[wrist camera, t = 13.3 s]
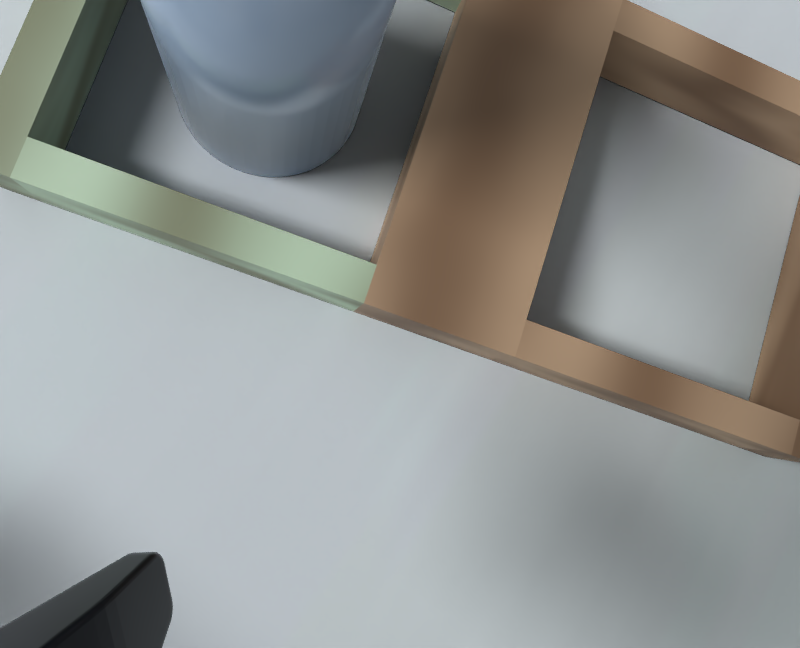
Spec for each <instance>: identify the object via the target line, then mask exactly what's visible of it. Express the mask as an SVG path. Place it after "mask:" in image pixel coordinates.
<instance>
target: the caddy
mask: <svg viewBox="0 0 800 648" xmlns="http://www.w3.org/2000/svg"><path fill="white" fill-rule="evenodd" d="M428 1H431V2H433V3H435V4H438V5H440V6H442V7H444V8H447V9H449V10H451V11H453V12H455V15H454V18H453V20H452V23H451V26H450V29H449V32H448V35H447V38H446V41H445V44H444V47H443V50H442V53H441V56H440V59H439V62H438V64H437V67H436V70H435V73H434V76H433V79H432V82H431V85H430V88H429V91H428V94H427V97H426V100H425V103H424V106H423V109H422V111H421V114H420V117H419V120H418V123H417V126H416V129H415V132H414V135H413V138H412V141H411V144H410V147H409V150H408V153H407V156H406V158H405V161H404V164H403V167H402V170H401V173H400V176H399V179H398V182H397V185H396V188H395V191H394V194H393V197H392V200H391V202H390V205H389V208H388V211H387V214H386V217H385V220H384V223H383V226H382V229H381V232H380V235H379V238H378V241H377V244H376V247H375V249H374V252H373V255H372V258H371V261H370V262H368V261H365V260H362V259H360V258H357V257H354V256H352V255H349V254H346V253H343V252H341V251H338V250H335V249H332V248H330V247H327V246H324V245H322V244H319V243H316V242H313V241H311V240H308V239H305V238H302V237H300V236H297V235H294V234H292V233H289V232H286V231H283V230H281V229H278V228H275V227H272V226H270V225H267V224H264V223H262V222H259V221H256V220H253V219H251V218H248V217H245V216H243V215H240V214H237V213H234V212H232V211H229V210H226V209H223V208H221V207H218V206H215V205H213V204H210V203H207V202H204V201H202V200H199V199H196V198H193V197H191V196H188V195H185V194H183V193H180V192H177V191H174V190H172V189H169V188H166V187H163V186H161V185H158V184H155V183H153V182H150V181H147V180H144V179H142V178H139V177H136V176H133V175H131V174H128V173H125V172H123V171H120V170H117V169H114V168H112V167H109V166H106V165H103V164H101V163H98V162H95V161H93V160H90V159H87V158H84V157H82V156H79V155H76V154H73V153H71V152H68V151H65V148H66V146H67V143H68V141H69V139H70V136H71V134H72V131H73V129H74V127H75V124H76V122H77V120H78V117H79V115H80V112H81V110H82V108H83V105H84V103H85V101H86V98H87V96H88V93H89V91H90V89H91V86H92V84H93V81H94V79H95V77H96V74H97V72H98V70H99V67H100V65H101V62H102V60H103V58H104V55H105V53H106V51H107V48H108V46H109V43H110V41H111V39H112V36H113V34H114V31H115V29H116V27H117V24H118V22H119V20H120V17H121V15H122V12H123V10H124V8H125V5H126V3H127V0H34V1H33V3H32V5H31V8H30V10H29V12H28V14H27V17H26V19H25V21H24V23H23V26H22V28H21V30H20V32H19V35H18V37H17V39H16V42H15V44H14V46H13V48H12V51H11V53H10V55H9V57H8V60H7V62H6V64H5V66H4V69H3V71H2V73H1V75H0V186H1V187H2V188H5V189H7V190H10V191H13V192H16V193H19V194H22V195H24V196H27V197H30V198H33V199H36V200H39V201H41V202H44V203H47V204H50V205H53V206H56V207H59V208H61V209H64V210H67V211H70V212H73V213H76V214H78V215H81V216H84V217H87V218H90V219H93V220H95V221H98V222H101V223H104V224H107V225H110V226H112V227H115V228H118V229H121V230H124V231H127V232H129V233H132V234H135V235H138V236H141V237H144V238H146V239H149V240H152V241H155V242H158V243H161V244H164V245H166V246H169V247H172V248H175V249H178V250H181V251H183V252H186V253H189V254H192V255H195V256H198V257H200V258H203V259H206V260H209V261H212V262H215V263H217V264H220V265H223V266H226V267H229V268H232V269H234V270H237V271H240V272H243V273H246V274H249V275H251V276H254V277H257V278H260V279H263V280H266V281H268V282H271V283H274V284H277V285H280V286H283V287H286V288H288V289H291V290H294V291H297V292H300V293H303V294H305V295H308V296H311V297H314V298H317V299H320V300H322V301H325V302H328V303H331V304H334V305H337V306H339V307H342V308H345V309H348V310H351V311H354V312H356V313H359V314H362V315H365V316H368V317H371V318H373V319H376V320H379V321H382V322H385V323H388V324H391V325H393V326H396V327H399V328H402V329H405V330H408V331H410V332H413V333H416V334H419V335H422V336H425V337H427V338H430V339H433V340H436V341H439V342H442V343H444V344H447V345H450V346H453V347H456V348H459V349H461V350H464V351H467V352H470V353H473V354H476V355H478V356H481V357H484V358H487V359H490V360H493V361H496V362H498V363H501V364H504V365H507V366H510V367H513V368H515V369H518V370H521V371H524V372H527V373H530V374H532V375H535V376H538V377H541V378H544V379H547V380H549V381H552V382H555V383H558V384H561V385H564V386H566V387H569V388H572V389H575V390H578V391H581V392H583V393H586V394H589V395H592V396H595V397H598V398H600V399H603V400H606V401H609V402H612V403H615V404H618V405H620V406H623V407H626V408H629V409H632V410H635V411H637V412H640V413H643V414H646V415H649V416H652V417H654V418H657V419H660V420H663V421H666V422H669V423H671V424H674V425H677V426H680V427H683V428H686V429H688V430H691V431H694V432H697V433H700V434H703V435H705V436H708V437H711V438H714V439H717V440H720V441H723V442H725V443H728V444H731V445H734V446H737V447H740V448H742V449H745V450H748V451H751V452H754V453H757V454H759V455H762V456H765V457H771V458H777V459H783V460H789V461H795V462H800V196H799V200H798V204H797V208H796V212H795V216H794V220H793V225H792V229H791V233H790V237H789V241H788V245H787V249H786V253H785V257H784V261H783V265H782V269H781V273H780V277H779V281H778V285H777V289H776V293H775V297H774V301H773V305H772V309H771V313H770V317H769V321H768V325H767V329H766V333H765V338H764V342H763V346H762V350H761V354H760V358H759V362H758V366H757V370H756V374H755V378H754V382H753V386H752V390H751V394H750V398H749V401H747V400H744V399H741V398H739V397H736V396H733V395H730V394H728V393H725V392H722V391H720V390H717V389H714V388H711V387H709V386H706V385H703V384H700V383H698V382H695V381H692V380H690V379H687V378H684V377H681V376H679V375H676V374H673V373H670V372H668V371H665V370H662V369H660V368H657V367H654V366H651V365H649V364H646V363H643V362H641V361H638V360H635V359H632V358H630V357H627V356H624V355H621V354H619V353H616V352H613V351H611V350H608V349H605V348H602V347H600V346H597V345H594V344H591V343H589V342H586V341H583V340H581V339H578V338H575V337H572V336H570V335H567V334H564V333H561V332H559V331H556V330H553V329H551V328H548V327H545V326H542V325H540V324H537V323H534V322H531V321H529V320H526V319H527V316H528V313H529V309H530V306H531V303H532V299H533V296H534V293H535V290H536V286H537V283H538V280H539V276H540V273H541V270H542V266H543V263H544V260H545V256H546V253H547V250H548V246H549V243H550V240H551V236H552V233H553V230H554V227H555V223H556V220H557V217H558V213H559V210H560V207H561V203H562V200H563V197H564V193H565V190H566V187H567V183H568V180H569V177H570V173H571V170H572V167H573V164H574V160H575V157H576V154H577V150H578V147H579V144H580V140H581V137H582V134H583V130H584V127H585V124H586V120H587V117H588V114H589V110H590V107H591V104H592V101H593V97H594V94H595V91H596V87H597V84H598V81H599V77H603V78H605V79H607V80H609V81H612V82H614V83H616V84H618V85H621V86H623V87H625V88H627V89H630V90H632V91H634V92H637V93H639V94H641V95H643V96H646V97H648V98H650V99H652V100H655V101H657V102H659V103H661V104H664V105H666V106H668V107H670V108H673V109H675V110H677V111H679V112H682V113H684V114H686V115H689V116H691V117H693V118H695V119H698V120H700V121H702V122H704V123H707V124H709V125H711V126H713V127H716V128H718V129H720V130H722V131H725V132H727V133H729V134H731V135H734V136H736V137H738V138H741V139H743V140H745V141H747V142H750V143H752V144H754V145H756V146H759V147H761V148H763V149H765V150H768V151H770V152H772V153H774V154H777V155H779V156H781V157H784V158H786V159H788V160H790V161H793V162H795V163H797V164H799V165H800V81H799V80H797V79H795V78H793V77H791V76H788V75H786V74H784V73H782V72H780V71H778V70H776V69H773V68H771V67H769V66H767V65H765V64H763V63H761V62H758V61H756V60H754V59H752V58H750V57H748V56H746V55H743V54H741V53H739V52H737V51H735V50H733V49H731V48H728V47H726V46H724V45H722V44H720V43H718V42H716V41H713V40H711V39H709V38H707V37H705V36H703V35H701V34H698V33H696V32H694V31H692V30H690V29H688V28H686V27H683V26H681V25H679V24H677V23H675V22H673V21H671V20H668V19H666V18H664V17H662V16H660V15H658V14H656V13H653V12H651V11H649V10H647V9H645V8H643V7H641V6H638V5H636V4H634V3H632V2H630V1H628V0H428Z"/></svg>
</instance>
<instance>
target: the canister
mask: <svg viewBox="0 0 800 648" xmlns="http://www.w3.org/2000/svg"><path fill="white" fill-rule="evenodd" d="M140 1H141V4H142V7H143V9H144V12H145V15H146V18H147V21H148V23H149V26H150V29H151V32H152V35H153V37H154V40H155V43H156V46H157V49H158V51H159V54H160V57H161V60H162V63H163V65H164V68H165V71H166V74H167V76H168V79H169V82H170V85H171V88H172V90H173V93H174V96H175V99H176V102H177V104H178V107H179V110H180V113H181V116H182V118H183V120H184V122H185V124H186V126H187V128H188V129H189V131H190V132H191V134H192V135H193V137H194V138H195V139H196V140H197V141H198V143H199V144H200V145H201V146H202V147H203V148H204V149H205V150H206V151H207V152H209V153H210V154H211V155H212V156H213V157H215V158H216V159H218V160H219V161H221V162H222V163H224V164H226V165H228V166H230V167H232V168H234V169H236V170H239V171H242V172H245V173H248V174H252V175H257V176H265V177H285V176H291V175H297V174H300V173H303V172H307V171H309V170H311V169H313V168H316V167H318V166H319V165H321V164H323V163H324V162H326V161H327V160H329V159H330V158H331V157H332V156H333V155H335V154H336V153H337V152H338V151H339V149H340V148H341V147H342V146H343V145H344V144H345V142H346V141H347V139H348V138H349V136H350V134H351V132H352V130H353V128H354V126H355V124H356V121H357V118H358V115H359V112H360V109H361V105H362V102H363V99H364V96H365V93H366V90H367V87H368V84H369V81H370V78H371V75H372V72H373V69H374V66H375V63H376V60H377V56H378V53H379V50H380V47H381V44H382V41H383V38H384V35H385V32H386V29H387V26H388V23H389V20H390V17H391V14H392V11H393V8H394V4H395V1H396V0H140Z"/></svg>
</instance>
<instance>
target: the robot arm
mask: <svg viewBox="0 0 800 648" xmlns="http://www.w3.org/2000/svg"><path fill="white" fill-rule="evenodd" d="M172 610H173V604H172V597H171V593H170V588H169V583H168V578H167V574H166V569H165V564H164V561H163V558H162V556H161V555H160V554H158V553H157V552H142V553H131V554H128V555H126V556H124V557H122V558H121V559H119V560H117V561H116V562H114V563H112V564H110V565H109V566H107V567H105V568H103V569H102V570H100V571H98V572H97V573H95V574H93V575H91V576H90V577H88V578H86V579H84V580H83V581H81V582H79V583H78V584H76V585H74V586H72V587H71V588H69V589H67V590H65V591H64V592H62V593H60V594H59V595H57V596H55V597H53V598H52V599H50V600H48V601H46V602H45V603H43V604H41V605H40V606H38V607H36V608H34V609H33V610H31V611H29V612H27V613H26V614H24V615H22V616H21V617H19V618H17V619H15V620H14V621H12V622H10V623H8V624H7V625H5V626H3V627H2V628H0V648H162V646H163V643H164V640H165V637H166V634H167V631H168V628H169V625H170V622H171V618H172Z"/></svg>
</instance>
